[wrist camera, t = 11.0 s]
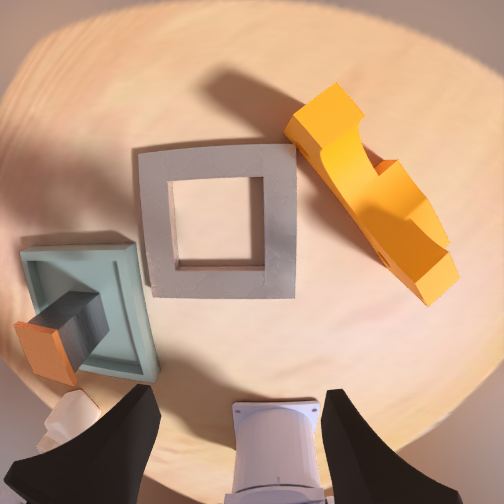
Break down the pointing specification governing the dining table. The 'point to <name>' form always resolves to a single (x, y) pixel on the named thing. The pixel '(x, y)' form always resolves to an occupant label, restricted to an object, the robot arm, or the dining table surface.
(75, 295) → the pin
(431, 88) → the dining table surface
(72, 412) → the pepper shaker
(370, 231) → the pipe clamp
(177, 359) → the dining table surface
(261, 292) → the socket
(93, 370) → the tray
